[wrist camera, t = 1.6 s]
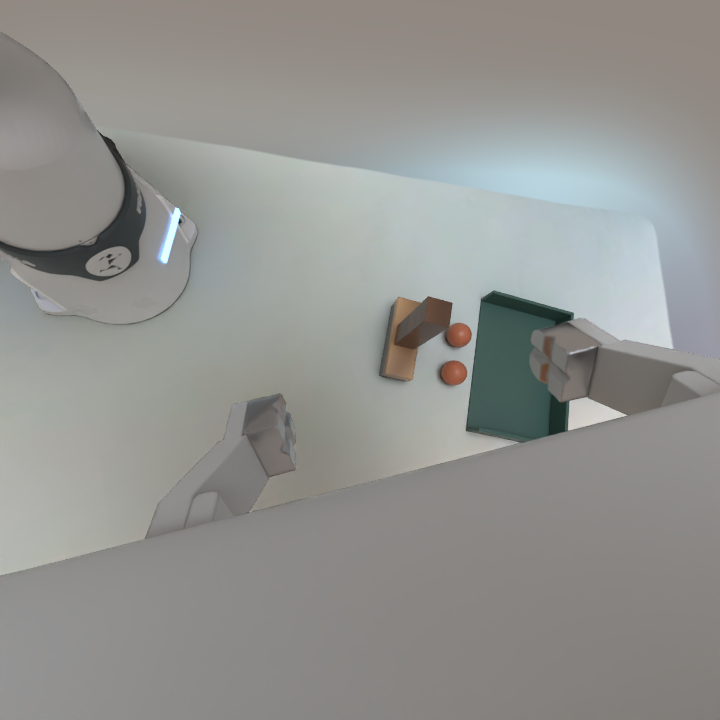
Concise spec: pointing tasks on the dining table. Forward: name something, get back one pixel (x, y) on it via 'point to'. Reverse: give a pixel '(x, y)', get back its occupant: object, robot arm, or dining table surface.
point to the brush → (411, 333)
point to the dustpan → (512, 372)
